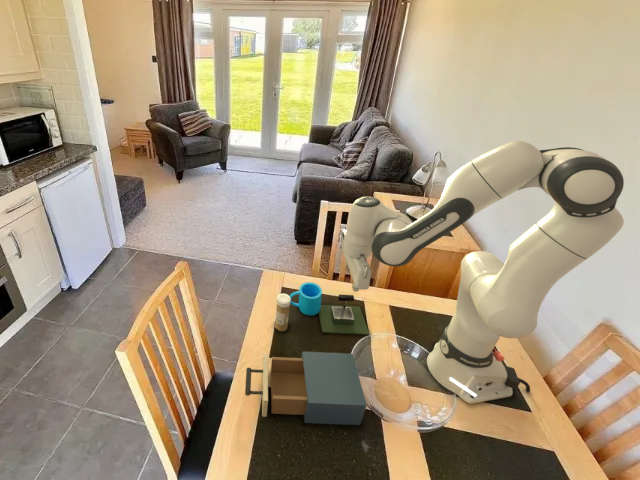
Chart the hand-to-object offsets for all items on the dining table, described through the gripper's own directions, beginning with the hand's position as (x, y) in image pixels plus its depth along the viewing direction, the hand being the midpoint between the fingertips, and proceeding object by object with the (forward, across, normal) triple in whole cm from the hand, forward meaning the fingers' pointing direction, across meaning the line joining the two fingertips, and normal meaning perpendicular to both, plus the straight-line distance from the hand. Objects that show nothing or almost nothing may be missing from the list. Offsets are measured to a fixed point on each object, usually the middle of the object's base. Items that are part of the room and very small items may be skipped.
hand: (351, 279), depth 104 cm
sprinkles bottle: (+19, -4, +22) cm, 30 cm away
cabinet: (+19, -27, +10) cm, 34 cm away
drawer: (+18, -27, +24) cm, 40 cm away
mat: (+19, 0, 0) cm, 19 cm away
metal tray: (+18, 0, +1) cm, 19 cm away
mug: (+19, +5, +13) cm, 24 cm away
